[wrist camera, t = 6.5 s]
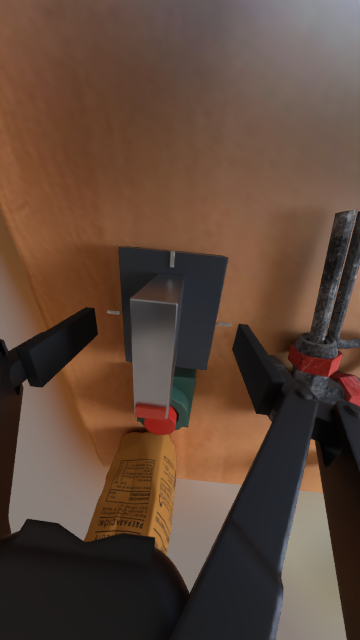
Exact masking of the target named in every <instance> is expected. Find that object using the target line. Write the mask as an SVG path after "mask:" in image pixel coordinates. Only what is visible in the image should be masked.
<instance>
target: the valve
mask: <svg viewBox="0 0 360 640" xmlns="http://www.w3.org/2000/svg"><path fill="white" fill-rule="evenodd" d="M356 212H357V210H354V211H345V212H339V213H335V218H334V223H333V227H332V232H331V237H330V242H329V246H328V251H327V256H326V260H325V265H324V270H323V275H322V279H321V284H320V289H319V293H318V298H317V303H316V308H315V312H314V317H313V322H312V326H311V331H310V333H304V334H301V335H300V336H299V338H298V339H297V341H296V342H295V343H293V344H291V345H290V350H289V356H288V360H289V361H290V362H291V363H292V364H293V365H294V366H293V372H292V377H293V379H294V380H295V381H296V383H297V384H298V385H299V386H302V387H305V388H307V389H308V390H310V391H311V392H312V393H314V394H315V395H316V397H317V398H318V400H320V401H323V402H326V403H329V404H332V405H334V404H335V403H336V402H337V401H338V400H346V401H349V402H351V403H354V404H356V405H358V406H359V407H360V378H358V377H356V376H355V375H350V374H346V373H342V372H335V371H336V370H338V368H339V364H340V361H341V358H342V354H343V353H341V352H340V351H338V349H337V348H339V349H348V348H357V347H360V338H358V339H349V340H341V339H340V338H339V337H340V332H341V328H342V325H343V321H344V318H345V314H346V311H347V307H348V304H349V300H350V297H351V293H352V290H353V286H354V283H355V279H356V276H357V272H358V269H359V265H360V211H359V212H358V214H357V218H356V222H355V226H354V230H353V234H352V238H351V242H350V245H349V249H348V253H347V257H346V261H345V265H344V269H343V273H342V277H341V281H340V285H339V289H338V293H337V297H336V300H335V296H336V292H337V288H338V284H339V280H340V276H341V272H342V268H343V264H344V260H345V256H346V252H347V248H348V244H349V240H350V236H351V232H352V228H353V224H354V220H355V216H356ZM334 300H335V304H334ZM333 304H334V308H333ZM332 308H333V312H332ZM331 312H332V316H331ZM330 316H331V320H330ZM329 320H330V324H329ZM328 324H329V328H328V333H327V336H326V331H327V327H328ZM267 416H268V417H269V419H270V420H271V421H272V422H273V420H274V418H275V416H276V414H275V412H274V410H273V408H272V411H271V413H270V415H267Z"/></svg>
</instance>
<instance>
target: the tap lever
mask: <svg viewBox="0 0 360 640" xmlns="http://www.w3.org/2000/svg"><path fill="white" fill-rule="evenodd" d="M184 278H185V277H184V276H176V275H167V274H158V275H157V276H156V277H155V278H153V279H152V280H151V281H150V282H149V283H148V284H146V285H145V286H144V287H143V288H142V289H141V290H140V291H138V292H137V293H136V294H135V295H134V296H133V297H131V298H130V313H131V339H132V365H133V391H134V414H135V417H141V418H149V419H157V420H165V419H167V418H168V413H169V406H170V399H171V392H172V385H173V378H174V371H175V364H176V357H177V349H178V339H179V329H180V318H181V308H182V298H183V288H184Z"/></svg>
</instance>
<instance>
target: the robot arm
mask: <svg viewBox="0 0 360 640" xmlns="http://www.w3.org/2000/svg"><path fill="white" fill-rule="evenodd" d="M97 335H98V331H97V324H96V316H95V309H94V308H88V307H86V308H84V309H82V310H81V311H79V312H77V313H76V314H74V315H72V316H71V317H69V318H67V319H66V320H64V321H62V322H60V323H59V324H57V325H55V326H54V327H52V328H50V329H49V330H47V331H45V332H42V333H40V334H38V335H36V336H34V337H33V338H31V339H29V340H27V342H24V343H22V344H21V345H19V346H17V347H15V348H13V349H12V350H10V351H8V349H7V347H6V345H5V342H4V340H1V339H0V640H275V639H276V634H277V629H278V624H279V618H280V614H281V607H282V600H283V584H282V580H281V573H282V566H283V562H284V558H285V553H286V548H287V544H288V539H289V535H290V531H291V526H292V522H293V517H294V513H295V508H296V503H297V499H298V495H299V490H300V486H301V481H302V477H303V472H304V467H305V463H306V458H307V454H308V449H309V445H310V440H311V439H313V440H315V445H316V451H317V457H318V463H319V469H320V476H321V482H322V488H323V494H324V500H325V507H326V513H327V519H328V525H329V531H330V537H331V544H332V550H333V556H334V562H335V568H336V575H337V581H338V587H339V593H340V600H341V606H342V612H343V618H344V624H345V631H346V637H347V640H360V407H359V406H358V405H356V404H354V403H351V402H349V401H346V400H338V401H337V402H336V403H335V404H334V405H332V404H329V403H326V402H323V401H320V400H318V398H317V397H316V395H315V394H314V393H312V392H311V391H310V390H308V389H307V388H305V387H302V386H299V385H298V384H297V383H296V381H295V380H294V379H293V377H292V376H291V375H290V373H289V372H288V371H287V369H286V368H285V367H284V365H283V364H282V363H281V361H280V360H279V359H277V358H276V357H275V356H273V355H268V354H267V352H266V351H265V350H264V348H263V347H262V345H261V344H260V342H259V341H258V339H257V338H256V336H255V335H254V333H253V332H252V331H251V329H250V328H249V326H248V325H245V324H239V326H238V329H237V333H236V337H235V341H234V344H233V348H232V350H233V353H234V356H235V358H236V361H237V364H238V366H239V369H240V372H241V374H242V377H243V380H244V382H245V385H246V388H247V390H248V393H249V396H250V398H251V401H252V404H253V406H254V409H255V412H256V414H263V415H270V413H271V411H272V408H273V410H274V412H275V414H276V416H275V418H274V420H273V422H272V424H271V426H270V428H269V430H268V432H267V434H266V436H265V438H264V440H263V442H262V445H261V447H260V449H259V451H258V453H257V455H256V457H255V459H254V461H253V463H252V465H251V467H250V469H249V472H248V474H247V476H246V478H245V480H244V482H243V484H242V486H241V488H240V490H239V493H238V495H237V497H236V499H235V501H234V503H233V505H232V507H231V509H230V511H229V513H228V515H227V517H226V520H225V521H224V524H223V526H222V528H221V530H220V532H219V534H218V536H217V538H216V540H215V542H214V544H213V546H212V548H211V551H210V553H209V555H208V557H207V559H206V561H205V563H204V565H203V567H202V569H201V571H200V573H199V575H198V577H197V579H196V581H195V583H194V586H193V588H192V590H191V592H190V594H189V591H188V589H187V587H186V585H185V582H184V580H183V578H182V576H181V575H180V573H179V571H178V570H177V568H176V567H175V565H174V564H173V562H172V561H171V560H170V559H169V558H168V557H167V556H166V555H165V554H164V553H163V552H162V551H161V550H159V549H158V548H156V547H155V537H150V536H143V535H136V534H129V533H121V534H117V535H113V536H109V537H105V538H101V539H97V540H94V541H90V542H84V541H82V540H81V539H79V538H78V537H77V536H75V535H74V534H72V533H71V532H70V531H68V530H67V529H65V528H64V527H62V526H61V525H60V524H58V523H52V522H45V521H39V520H32V519H27V520H26V522H25V523H24V525H23V526H22V528H21V530H20V531H18V532H15V533H12V534H11V529H10V524H9V519H8V518H9V517H8V513H9V504H10V495H11V487H12V479H13V470H14V462H15V453H16V446H17V445H16V444H17V436H18V428H19V420H20V412H21V404H22V395H23V385H22V383H23V382H24V381H25V380H26V379H28V382H29V384H30V386H33V387H43V386H44V385H45V384H46V383H47V382H49V381H50V380H51V379H52V378H53V377H54V376H55V375H56V374H57V373H58V372H59V371H60V370H61V369H62V368H63V367H64V366H65V365H66V364H68V363H69V362H70V361H71V360H72V359H73V358H74V357H75V356H76V355H77V354H78V353H79V352H80V351H81V350H82V349H83V348H84V347H85V346H86V345H87V344H89V343H90V342H91V341H92V340H93V339H94V338H95V337H96V336H97Z"/></svg>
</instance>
